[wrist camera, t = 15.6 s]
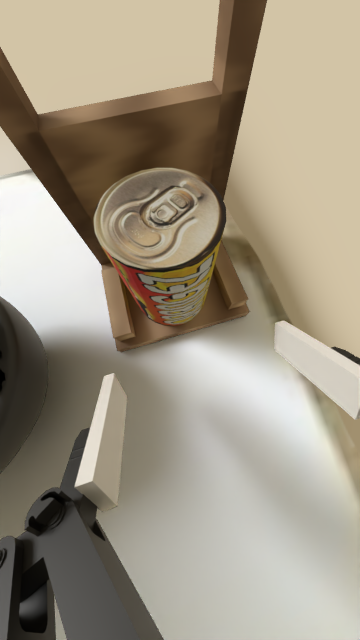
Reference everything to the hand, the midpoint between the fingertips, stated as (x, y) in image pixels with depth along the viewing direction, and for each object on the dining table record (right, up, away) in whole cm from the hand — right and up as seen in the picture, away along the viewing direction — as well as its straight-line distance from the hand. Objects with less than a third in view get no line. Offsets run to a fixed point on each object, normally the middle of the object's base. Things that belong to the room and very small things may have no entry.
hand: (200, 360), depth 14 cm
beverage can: (-3, +7, +9) cm, 12 cm away
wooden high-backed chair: (-3, +8, +11) cm, 14 cm away
